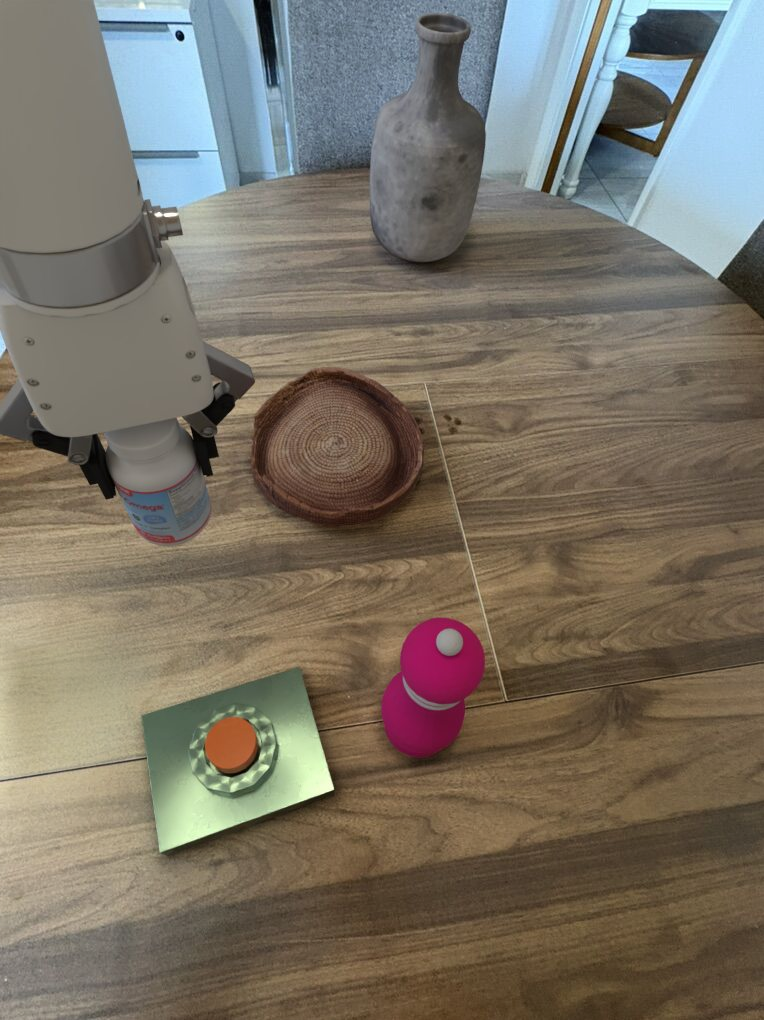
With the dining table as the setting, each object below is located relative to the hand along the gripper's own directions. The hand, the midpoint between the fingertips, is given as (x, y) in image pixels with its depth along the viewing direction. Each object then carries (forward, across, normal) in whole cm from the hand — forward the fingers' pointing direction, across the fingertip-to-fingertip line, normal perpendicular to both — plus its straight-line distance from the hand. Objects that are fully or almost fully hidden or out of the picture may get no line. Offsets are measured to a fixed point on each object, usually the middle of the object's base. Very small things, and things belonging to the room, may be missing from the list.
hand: (157, 470), depth 44 cm
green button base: (+21, 0, +16) cm, 27 cm away
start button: (+17, 0, +16) cm, 23 cm away
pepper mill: (+21, -16, +18) cm, 32 cm away
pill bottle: (+6, 0, 0) cm, 6 cm away
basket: (+21, -18, -14) cm, 31 cm away
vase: (+21, -44, -52) cm, 71 cm away
